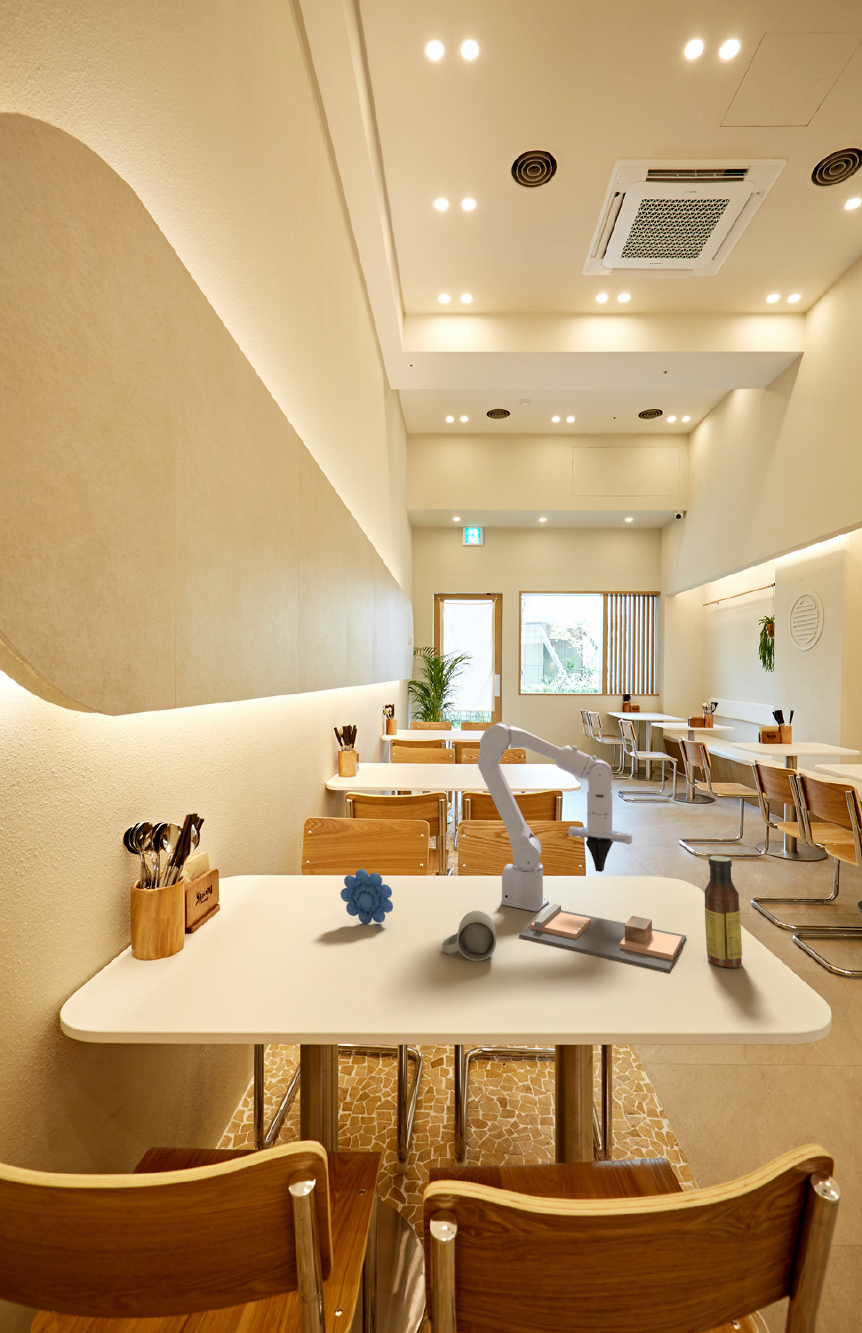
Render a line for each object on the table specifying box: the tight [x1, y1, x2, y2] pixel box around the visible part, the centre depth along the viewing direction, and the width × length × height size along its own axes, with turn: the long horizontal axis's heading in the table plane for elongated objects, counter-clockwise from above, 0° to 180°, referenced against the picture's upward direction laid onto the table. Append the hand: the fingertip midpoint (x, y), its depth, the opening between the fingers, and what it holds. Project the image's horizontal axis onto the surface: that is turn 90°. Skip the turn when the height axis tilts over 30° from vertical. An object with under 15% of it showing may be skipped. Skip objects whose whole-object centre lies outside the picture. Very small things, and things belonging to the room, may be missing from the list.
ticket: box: [530, 903, 591, 939], centre depth 137 cm, size 10×12×2 cm
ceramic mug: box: [441, 910, 497, 962], centre depth 125 cm, size 11×8×8 cm
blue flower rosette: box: [340, 868, 394, 925], centre depth 138 cm, size 12×7×12 cm, turn 91°
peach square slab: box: [620, 915, 682, 960], centre depth 127 cm, size 10×10×4 cm
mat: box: [518, 909, 687, 973], centre depth 132 cm, size 30×18×1 cm, turn 59°
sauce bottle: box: [704, 855, 743, 969], centre depth 121 cm, size 6×6×20 cm
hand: (599, 870), depth 147 cm, fingers closed
